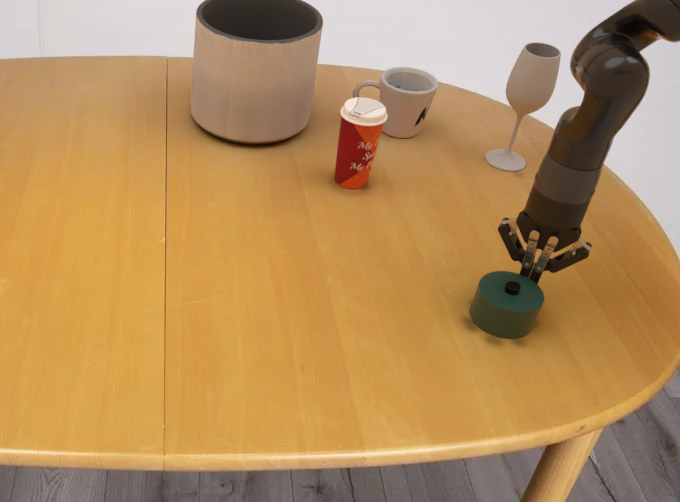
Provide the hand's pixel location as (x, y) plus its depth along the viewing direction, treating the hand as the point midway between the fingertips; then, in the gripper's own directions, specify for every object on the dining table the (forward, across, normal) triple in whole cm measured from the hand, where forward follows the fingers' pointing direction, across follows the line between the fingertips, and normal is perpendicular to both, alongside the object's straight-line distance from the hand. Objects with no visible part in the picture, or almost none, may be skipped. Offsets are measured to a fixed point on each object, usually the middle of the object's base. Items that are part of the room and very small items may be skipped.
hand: (525, 286), depth 127 cm
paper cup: (+3, +33, -17) cm, 37 cm away
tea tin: (+2, +2, +6) cm, 6 cm away
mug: (+3, +34, -38) cm, 51 cm away
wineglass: (+3, +12, -38) cm, 40 cm away
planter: (+3, +57, -27) cm, 63 cm away
